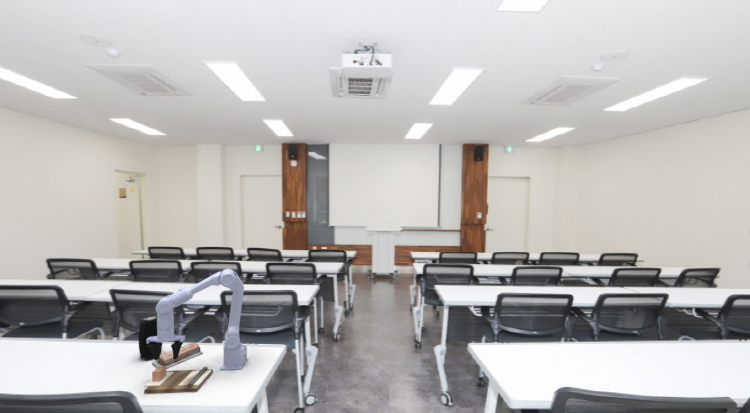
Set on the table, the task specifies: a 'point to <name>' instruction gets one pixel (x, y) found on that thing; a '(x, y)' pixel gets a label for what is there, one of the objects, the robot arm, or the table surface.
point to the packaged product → (184, 355)
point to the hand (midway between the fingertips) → (166, 358)
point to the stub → (158, 376)
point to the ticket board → (182, 381)
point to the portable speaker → (147, 335)
